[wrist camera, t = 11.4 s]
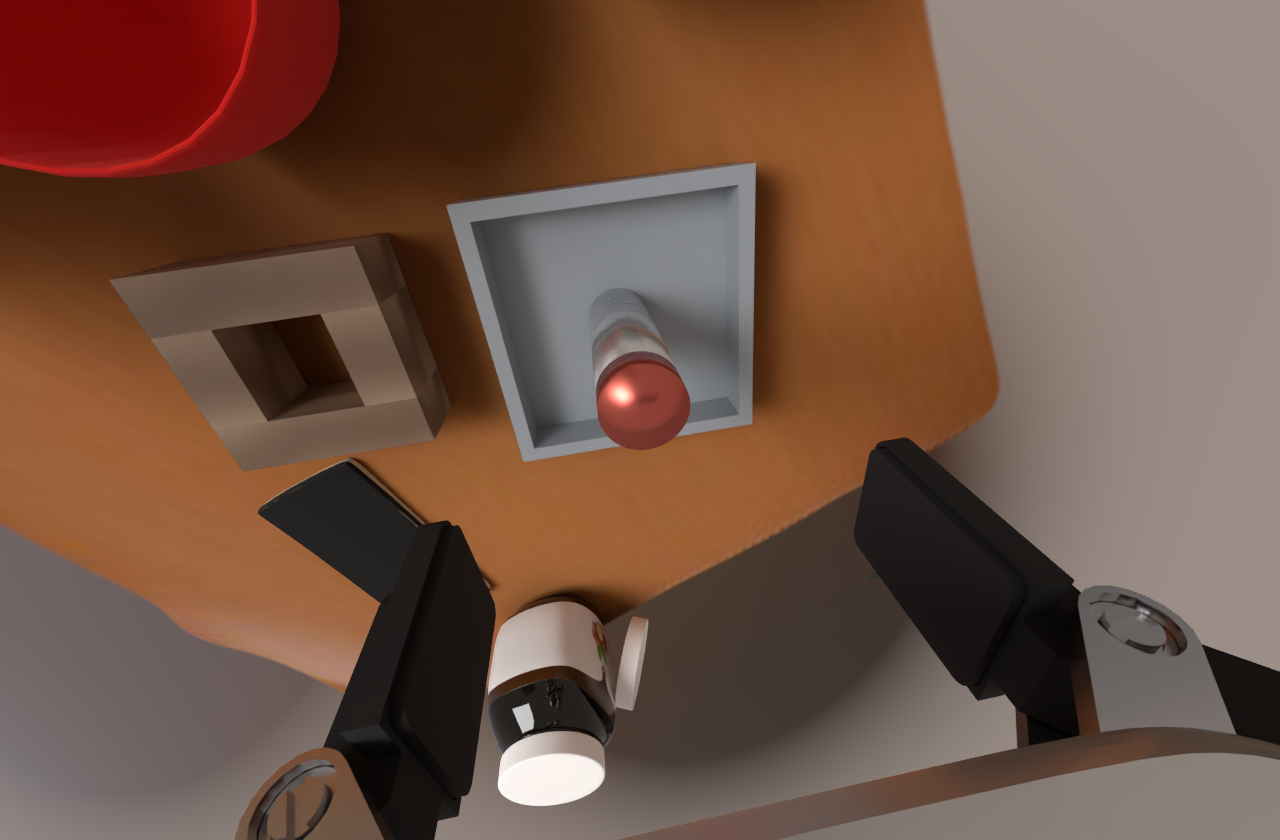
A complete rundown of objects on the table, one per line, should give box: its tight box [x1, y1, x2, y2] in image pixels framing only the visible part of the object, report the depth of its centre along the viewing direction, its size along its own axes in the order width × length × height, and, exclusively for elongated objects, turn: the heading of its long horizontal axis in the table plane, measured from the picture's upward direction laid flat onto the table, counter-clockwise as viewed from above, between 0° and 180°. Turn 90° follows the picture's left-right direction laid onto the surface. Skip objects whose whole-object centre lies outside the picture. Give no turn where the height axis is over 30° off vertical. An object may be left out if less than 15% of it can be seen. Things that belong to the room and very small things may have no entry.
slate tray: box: [446, 162, 756, 462], centre depth 25 cm, size 14×14×3 cm
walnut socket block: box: [109, 233, 452, 471], centre depth 23 cm, size 10×10×4 cm
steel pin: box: [589, 288, 690, 450], centre depth 21 cm, size 3×3×11 cm
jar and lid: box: [488, 596, 648, 806], centre depth 35 cm, size 12×11×12 cm
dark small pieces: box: [258, 458, 490, 603], centre depth 33 cm, size 7×1×15 cm
